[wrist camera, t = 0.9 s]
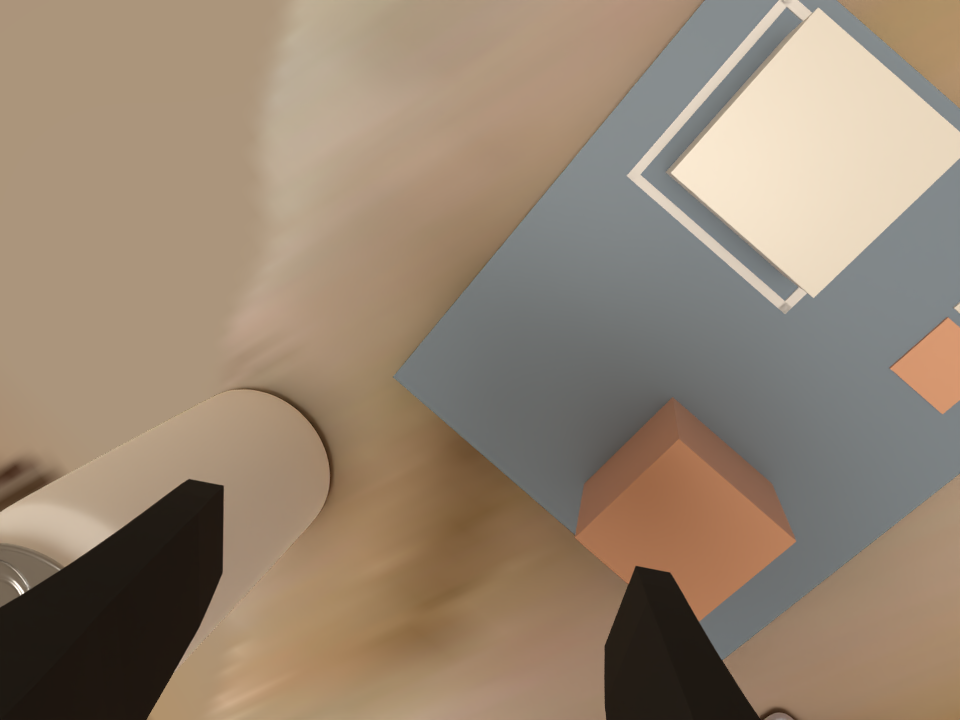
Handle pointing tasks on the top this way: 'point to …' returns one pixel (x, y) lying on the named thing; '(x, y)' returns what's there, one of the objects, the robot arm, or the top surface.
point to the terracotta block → (683, 510)
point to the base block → (817, 154)
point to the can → (164, 466)
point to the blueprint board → (712, 327)
